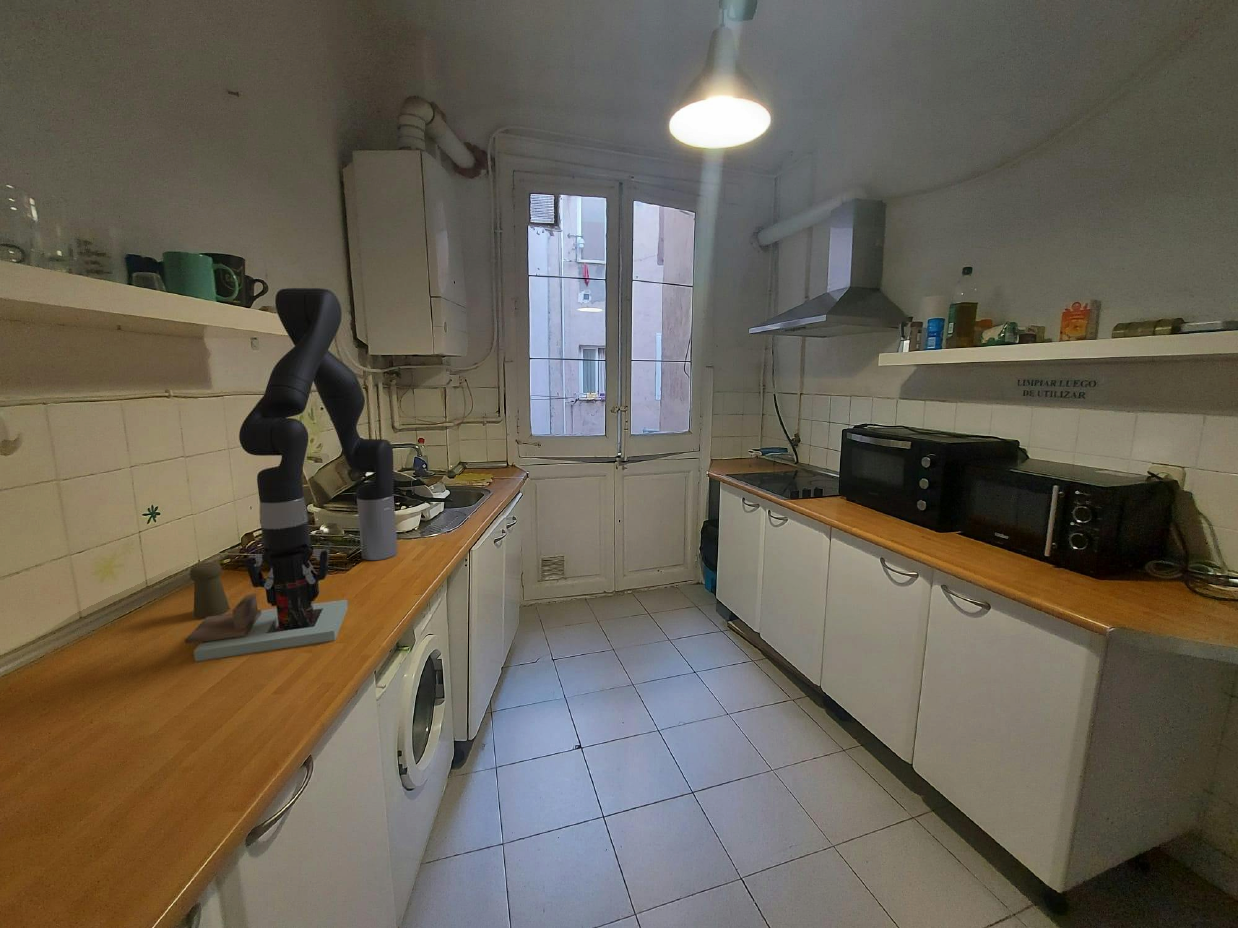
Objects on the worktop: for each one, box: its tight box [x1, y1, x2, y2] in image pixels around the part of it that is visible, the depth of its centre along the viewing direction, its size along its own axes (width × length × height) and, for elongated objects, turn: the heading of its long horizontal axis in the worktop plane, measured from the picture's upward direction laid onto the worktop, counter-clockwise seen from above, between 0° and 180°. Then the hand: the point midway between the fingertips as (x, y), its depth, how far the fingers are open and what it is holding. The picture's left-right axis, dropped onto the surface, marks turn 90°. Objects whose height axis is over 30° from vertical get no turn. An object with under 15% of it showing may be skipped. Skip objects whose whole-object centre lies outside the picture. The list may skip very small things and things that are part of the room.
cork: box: [189, 561, 231, 620], centre depth 103 cm, size 6×6×11 cm
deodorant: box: [270, 553, 314, 631], centre depth 96 cm, size 6×6×15 cm
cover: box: [184, 593, 262, 645], centre depth 93 cm, size 9×9×5 cm
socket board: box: [193, 599, 349, 662], centre depth 97 cm, size 14×22×2 cm, turn 110°
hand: (294, 601), depth 97 cm, fingers closed on deodorant, 6 cm apart
